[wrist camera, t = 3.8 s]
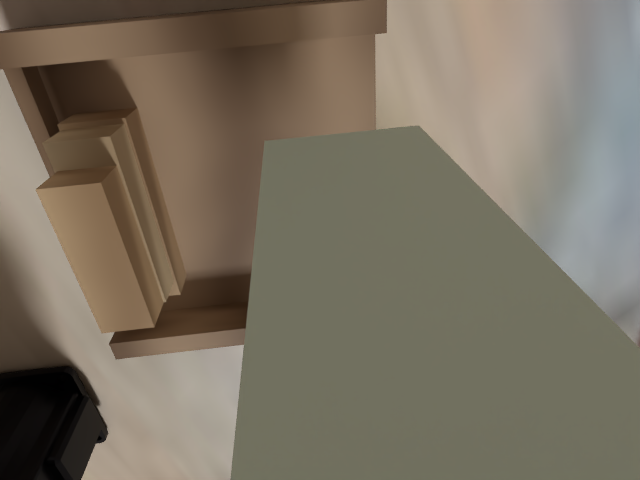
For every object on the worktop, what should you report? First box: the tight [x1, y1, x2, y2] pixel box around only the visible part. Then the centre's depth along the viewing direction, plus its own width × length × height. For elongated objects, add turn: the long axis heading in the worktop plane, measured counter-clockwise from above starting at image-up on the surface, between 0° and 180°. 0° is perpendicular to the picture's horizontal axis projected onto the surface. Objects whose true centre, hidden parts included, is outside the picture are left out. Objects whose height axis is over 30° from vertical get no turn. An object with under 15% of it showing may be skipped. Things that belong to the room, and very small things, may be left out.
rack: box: [0, 0, 387, 359], centre depth 18 cm, size 13×14×3 cm
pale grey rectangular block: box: [231, 126, 640, 480], centre depth 8 cm, size 3×10×7 cm, turn 5°
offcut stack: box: [36, 108, 187, 333], centre depth 17 cm, size 2×8×4 cm, turn 4°
